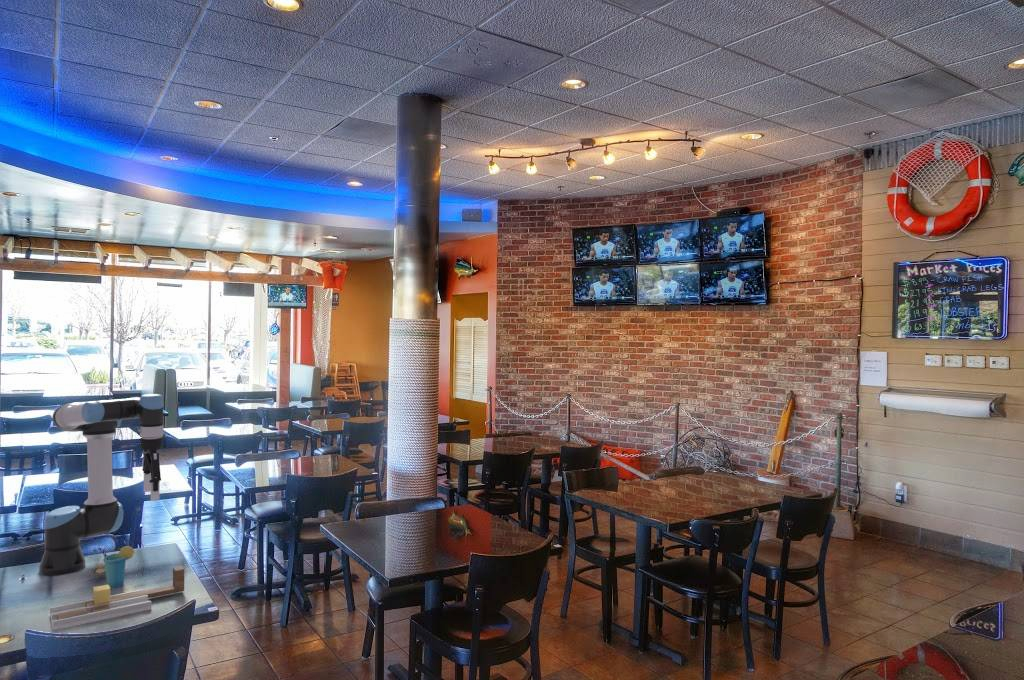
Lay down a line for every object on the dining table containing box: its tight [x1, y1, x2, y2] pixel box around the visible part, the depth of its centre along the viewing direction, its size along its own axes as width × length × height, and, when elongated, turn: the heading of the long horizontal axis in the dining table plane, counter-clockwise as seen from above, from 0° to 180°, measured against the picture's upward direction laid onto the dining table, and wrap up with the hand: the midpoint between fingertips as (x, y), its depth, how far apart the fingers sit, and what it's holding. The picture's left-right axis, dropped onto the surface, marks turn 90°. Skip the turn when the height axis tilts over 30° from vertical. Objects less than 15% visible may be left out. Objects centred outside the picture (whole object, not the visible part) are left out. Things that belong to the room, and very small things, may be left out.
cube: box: [92, 584, 111, 605], centre depth 237 cm, size 4×4×4 cm
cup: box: [90, 545, 135, 589], centre depth 257 cm, size 14×8×15 cm, turn 129°
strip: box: [86, 565, 185, 607], centre depth 243 cm, size 4×30×8 cm, turn 127°
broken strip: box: [57, 604, 110, 620], centre depth 229 cm, size 4×14×2 cm, turn 127°
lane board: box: [49, 588, 152, 631], centre depth 234 cm, size 13×28×3 cm, turn 127°
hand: (151, 495), depth 253 cm, fingers open, 13 cm apart
